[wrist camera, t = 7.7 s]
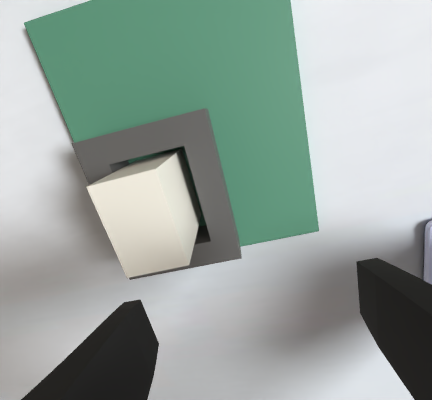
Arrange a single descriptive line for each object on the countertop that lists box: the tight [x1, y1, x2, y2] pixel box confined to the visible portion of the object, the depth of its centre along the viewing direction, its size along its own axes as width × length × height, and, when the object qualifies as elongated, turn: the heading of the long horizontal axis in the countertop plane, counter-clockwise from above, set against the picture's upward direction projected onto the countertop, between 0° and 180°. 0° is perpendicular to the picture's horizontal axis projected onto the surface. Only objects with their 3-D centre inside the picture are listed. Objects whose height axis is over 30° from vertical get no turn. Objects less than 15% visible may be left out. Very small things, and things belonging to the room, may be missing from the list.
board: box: [24, 0, 319, 280], centre depth 14 cm, size 14×16×3 cm
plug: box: [86, 149, 201, 278], centre depth 13 cm, size 3×4×6 cm, turn 15°
